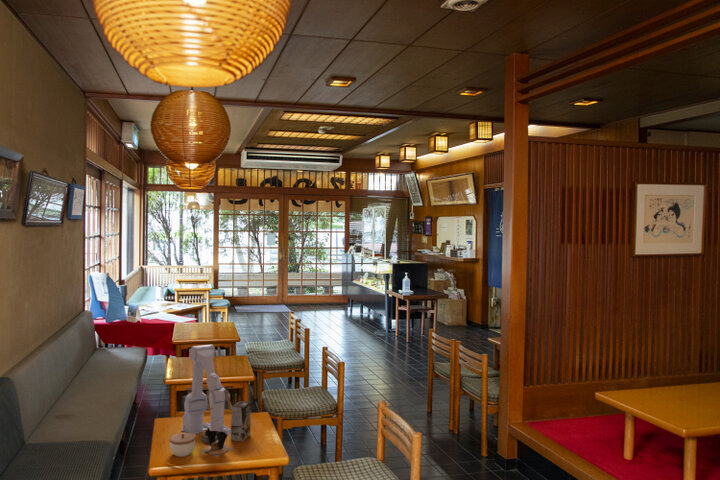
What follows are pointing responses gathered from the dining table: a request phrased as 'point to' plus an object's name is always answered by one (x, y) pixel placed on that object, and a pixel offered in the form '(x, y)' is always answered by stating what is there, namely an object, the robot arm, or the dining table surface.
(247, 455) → the dining table surface
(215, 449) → the lid
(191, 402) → the robot arm
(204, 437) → the bowl
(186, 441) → the lidded jar
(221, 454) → the mat
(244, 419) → the coffee box
